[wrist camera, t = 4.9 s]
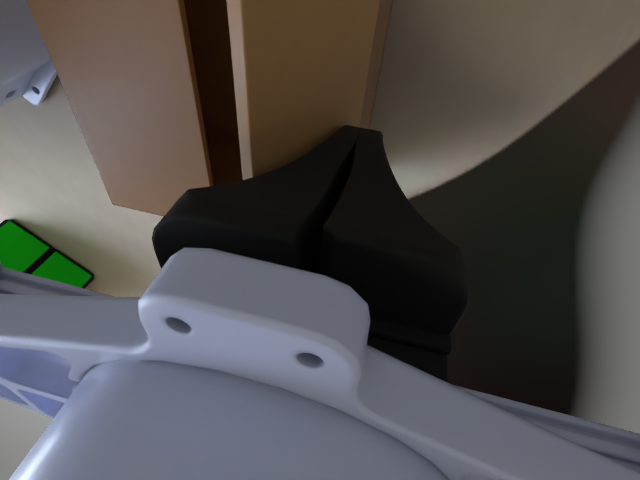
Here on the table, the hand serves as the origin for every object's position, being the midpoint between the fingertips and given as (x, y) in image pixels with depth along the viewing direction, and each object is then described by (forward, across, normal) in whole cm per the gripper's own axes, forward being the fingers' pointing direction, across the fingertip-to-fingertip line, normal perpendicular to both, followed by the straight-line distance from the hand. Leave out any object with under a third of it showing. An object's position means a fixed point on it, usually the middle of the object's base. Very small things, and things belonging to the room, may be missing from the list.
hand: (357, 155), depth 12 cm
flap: (-1, +1, 0) cm, 2 cm away
